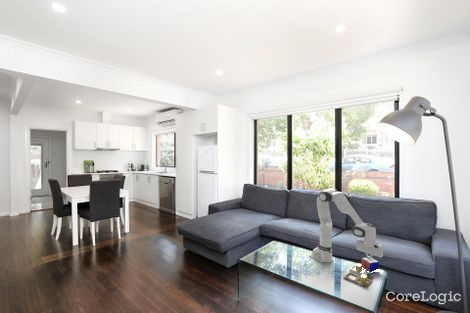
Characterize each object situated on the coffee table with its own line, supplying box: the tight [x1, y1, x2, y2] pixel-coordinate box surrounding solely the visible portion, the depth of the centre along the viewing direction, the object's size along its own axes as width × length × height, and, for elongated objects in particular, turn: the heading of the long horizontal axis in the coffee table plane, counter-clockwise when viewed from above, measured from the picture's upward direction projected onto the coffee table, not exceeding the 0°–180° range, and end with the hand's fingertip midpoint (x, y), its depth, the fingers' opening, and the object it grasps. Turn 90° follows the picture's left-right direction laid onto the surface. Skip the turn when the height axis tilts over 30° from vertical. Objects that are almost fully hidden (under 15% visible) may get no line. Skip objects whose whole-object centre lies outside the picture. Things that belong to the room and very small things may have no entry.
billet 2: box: [359, 274, 368, 285], centre depth 188 cm, size 4×5×6 cm
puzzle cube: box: [360, 256, 380, 272], centre depth 207 cm, size 10×10×10 cm
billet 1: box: [355, 263, 362, 272], centre depth 204 cm, size 4×5×6 cm
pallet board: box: [343, 271, 373, 289], centre depth 191 cm, size 18×12×2 cm, turn 41°
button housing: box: [365, 272, 374, 280], centre depth 196 cm, size 5×5×3 cm
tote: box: [349, 265, 367, 276], centre depth 205 cm, size 12×9×2 cm
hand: (369, 258), depth 195 cm, fingers closed
